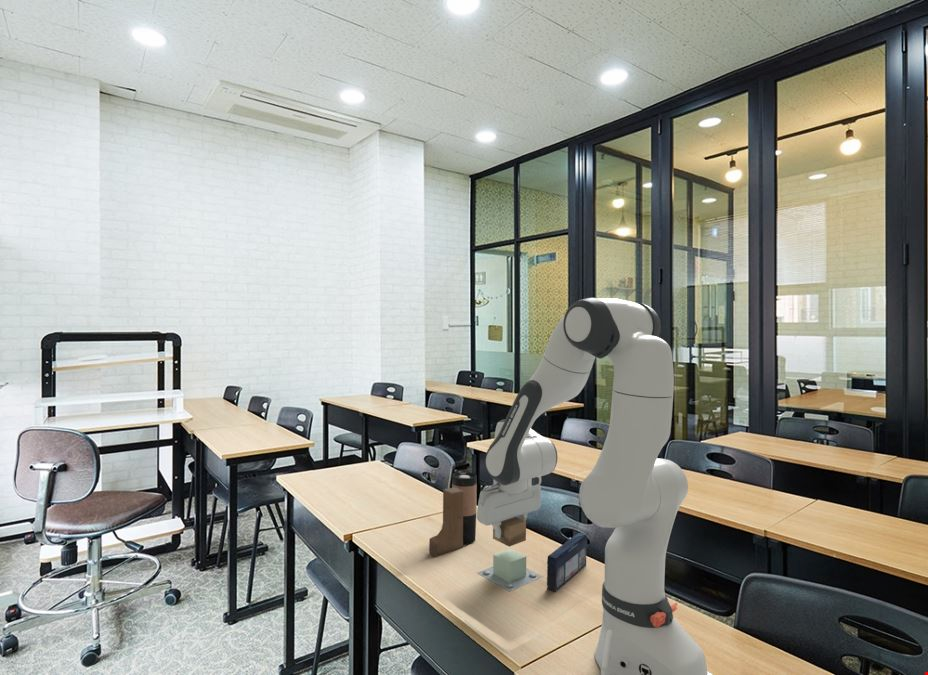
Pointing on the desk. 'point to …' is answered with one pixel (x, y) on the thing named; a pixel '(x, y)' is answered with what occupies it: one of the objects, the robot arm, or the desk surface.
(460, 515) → the wooden block
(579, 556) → the vhs cassette tape
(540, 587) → the desk surface
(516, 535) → the walnut brick
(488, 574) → the base plate
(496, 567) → the green brick
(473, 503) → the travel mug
